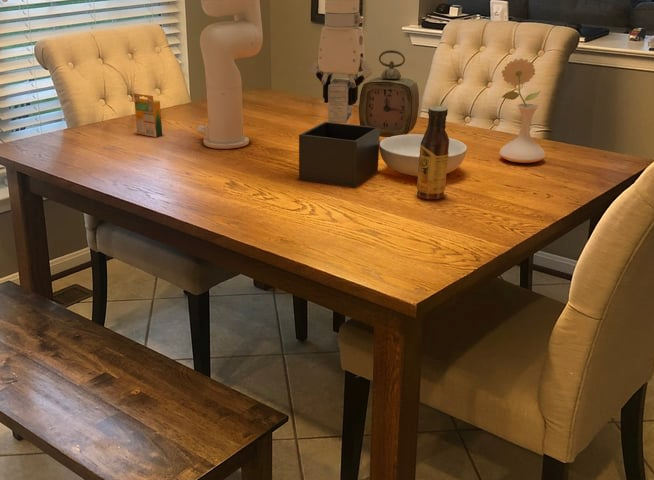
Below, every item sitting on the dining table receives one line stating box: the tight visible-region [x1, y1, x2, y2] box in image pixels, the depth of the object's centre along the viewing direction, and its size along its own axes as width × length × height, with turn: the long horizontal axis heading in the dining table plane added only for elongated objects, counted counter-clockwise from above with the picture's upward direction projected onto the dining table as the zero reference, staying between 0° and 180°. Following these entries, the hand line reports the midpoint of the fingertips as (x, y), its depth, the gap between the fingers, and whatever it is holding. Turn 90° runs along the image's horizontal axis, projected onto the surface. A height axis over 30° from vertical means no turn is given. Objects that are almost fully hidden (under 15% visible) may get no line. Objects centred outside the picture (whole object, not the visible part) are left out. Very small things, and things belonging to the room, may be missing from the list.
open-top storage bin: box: [298, 121, 381, 189], centre depth 195 cm, size 15×15×11 cm
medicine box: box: [327, 77, 352, 124], centre depth 189 cm, size 8×4×9 cm, turn 168°
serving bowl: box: [379, 133, 468, 178], centre depth 197 cm, size 21×21×7 cm
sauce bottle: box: [416, 105, 450, 201], centre depth 178 cm, size 7×6×20 cm
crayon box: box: [133, 93, 163, 138], centre depth 231 cm, size 7×3×12 cm, turn 57°
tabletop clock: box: [358, 49, 420, 138], centre depth 216 cm, size 14×9×25 cm, turn 68°
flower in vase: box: [498, 58, 546, 164], centre depth 202 cm, size 13×11×25 cm
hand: (340, 102), depth 189 cm, fingers closed on medicine box, 5 cm apart
